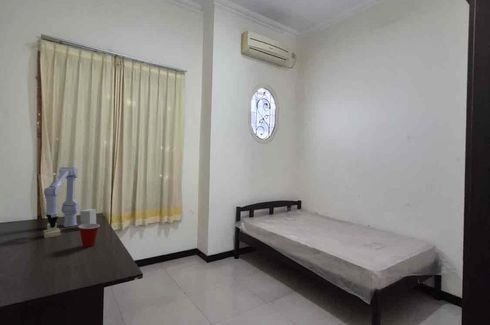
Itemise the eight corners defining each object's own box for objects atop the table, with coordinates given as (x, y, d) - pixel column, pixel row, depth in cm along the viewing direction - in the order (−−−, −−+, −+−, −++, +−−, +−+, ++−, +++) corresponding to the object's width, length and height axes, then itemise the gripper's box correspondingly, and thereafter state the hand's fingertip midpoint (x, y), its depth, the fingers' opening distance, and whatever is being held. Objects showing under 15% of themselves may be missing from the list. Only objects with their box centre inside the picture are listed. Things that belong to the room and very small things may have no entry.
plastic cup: (102, 245, 148) (102, 225, 147) (80, 250, 140) (80, 228, 140) (96, 241, 155) (96, 221, 155) (76, 245, 147) (76, 225, 147)
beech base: (43, 235, 165) (43, 230, 165) (58, 232, 171) (58, 228, 171) (44, 238, 159) (44, 233, 159) (60, 235, 165) (60, 230, 165)
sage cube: (47, 230, 165) (47, 223, 165) (55, 229, 168) (55, 222, 168) (48, 232, 162) (48, 225, 162) (56, 230, 165) (56, 224, 165)
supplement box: (96, 225, 188) (96, 209, 188) (89, 228, 181) (89, 211, 181) (87, 225, 189) (87, 208, 189) (80, 228, 182) (79, 210, 182)
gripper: (43, 204, 167) (43, 224, 168) (45, 208, 157) (45, 229, 157) (56, 203, 172) (56, 223, 172) (59, 206, 161) (59, 227, 162)
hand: (52, 226), depth 165 cm, fingers open, 7 cm apart
